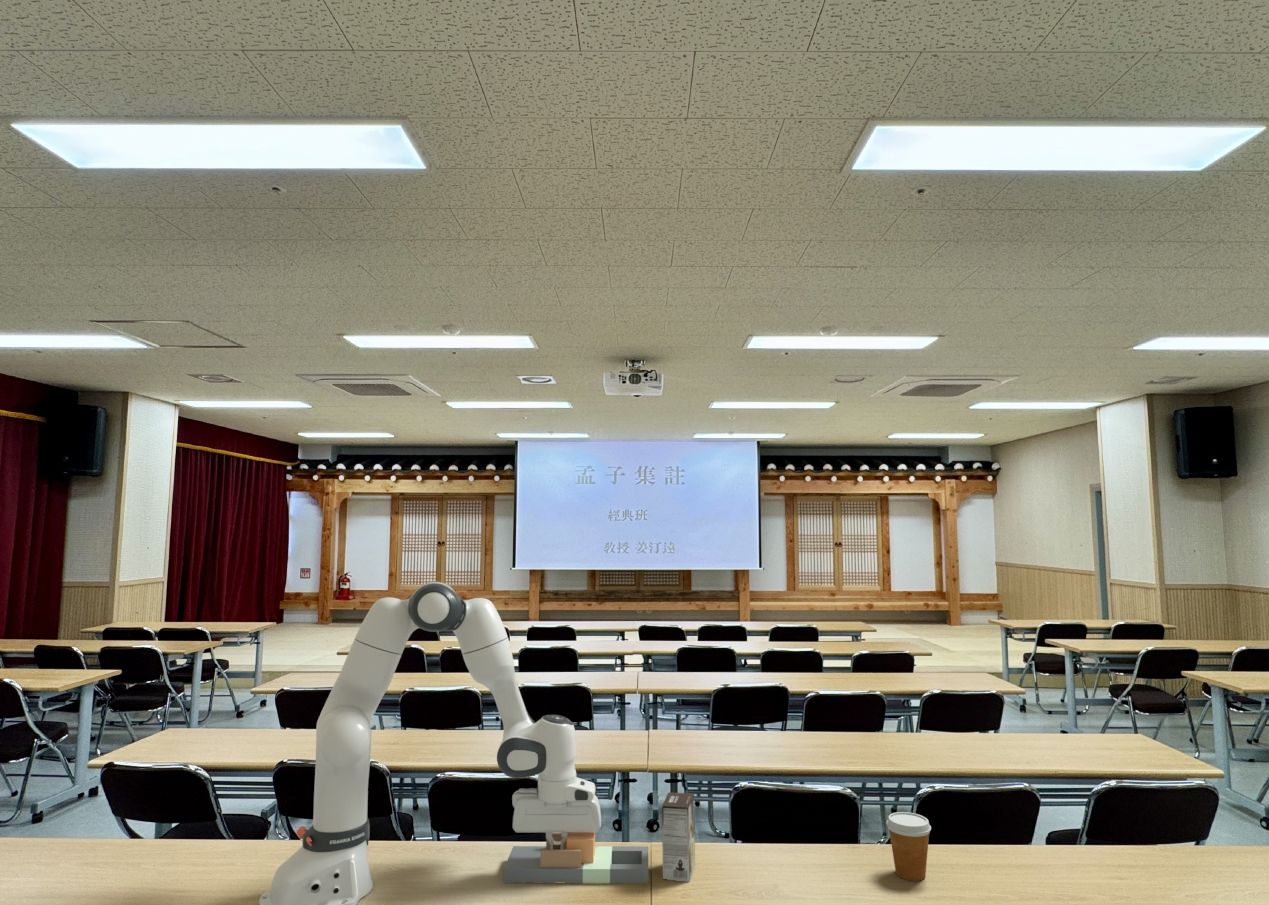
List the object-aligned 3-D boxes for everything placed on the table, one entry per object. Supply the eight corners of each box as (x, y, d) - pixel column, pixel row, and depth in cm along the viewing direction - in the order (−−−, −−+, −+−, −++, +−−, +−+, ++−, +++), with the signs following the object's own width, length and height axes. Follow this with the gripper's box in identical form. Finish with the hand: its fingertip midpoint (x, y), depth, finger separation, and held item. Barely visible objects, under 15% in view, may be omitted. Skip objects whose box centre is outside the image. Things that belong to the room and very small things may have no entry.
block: (566, 862, 171) (566, 839, 171) (569, 851, 177) (569, 829, 177) (593, 862, 171) (593, 839, 171) (595, 851, 177) (595, 829, 177)
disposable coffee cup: (882, 865, 176) (880, 811, 177) (923, 865, 176) (921, 811, 177) (896, 884, 166) (894, 827, 167) (940, 884, 166) (937, 827, 167)
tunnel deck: (503, 883, 168) (504, 852, 168) (513, 859, 180) (513, 830, 180) (648, 883, 167) (648, 852, 168) (648, 859, 179) (648, 830, 180)
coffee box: (668, 862, 178) (667, 791, 179) (695, 864, 176) (694, 792, 178) (662, 880, 169) (661, 805, 170) (690, 882, 168) (689, 807, 169)
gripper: (509, 793, 172) (509, 857, 171) (599, 793, 172) (600, 856, 171) (514, 783, 179) (514, 845, 177) (601, 783, 178) (601, 845, 177)
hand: (557, 851), depth 174 cm, fingers closed
